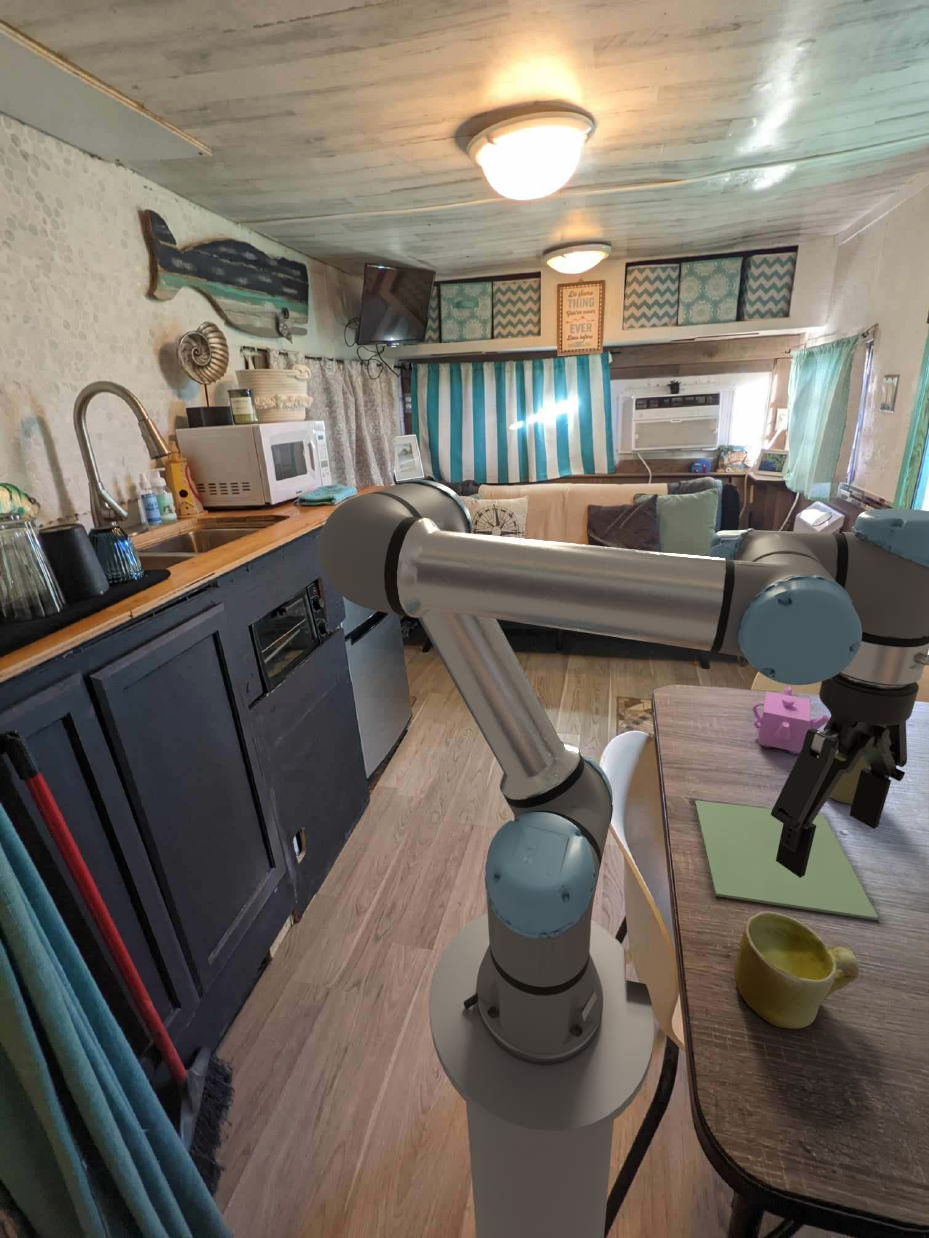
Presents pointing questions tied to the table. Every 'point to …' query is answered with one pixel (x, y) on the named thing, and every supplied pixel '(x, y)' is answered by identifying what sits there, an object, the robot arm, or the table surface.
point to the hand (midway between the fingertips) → (828, 843)
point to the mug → (789, 969)
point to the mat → (751, 872)
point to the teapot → (785, 721)
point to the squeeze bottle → (848, 782)
